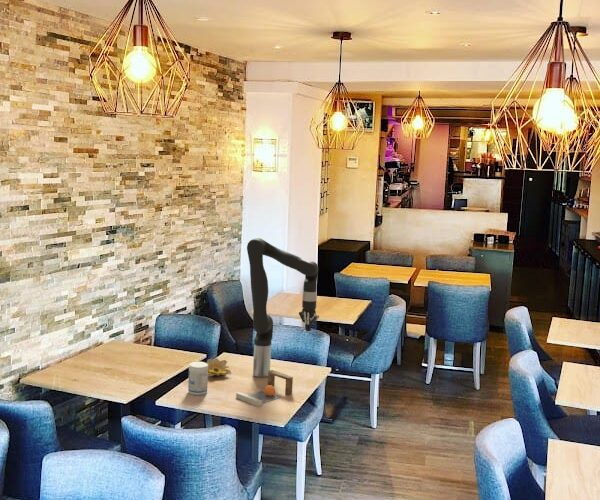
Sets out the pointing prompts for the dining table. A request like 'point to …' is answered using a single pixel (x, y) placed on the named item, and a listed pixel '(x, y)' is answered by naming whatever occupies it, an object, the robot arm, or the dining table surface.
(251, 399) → the stopper strip
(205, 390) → the supplement tub
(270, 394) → the ball
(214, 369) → the decorative flower
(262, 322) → the robot arm
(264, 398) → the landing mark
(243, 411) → the dining table surface
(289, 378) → the bridge
